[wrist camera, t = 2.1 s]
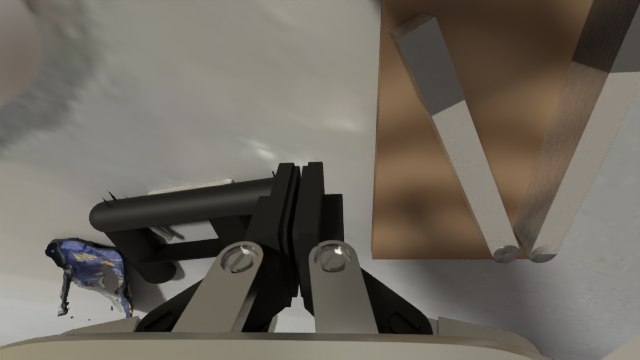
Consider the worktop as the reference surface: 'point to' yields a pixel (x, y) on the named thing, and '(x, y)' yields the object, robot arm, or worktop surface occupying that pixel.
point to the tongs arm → (455, 129)
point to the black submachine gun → (173, 208)
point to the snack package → (90, 271)
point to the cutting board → (485, 110)
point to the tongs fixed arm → (581, 126)
